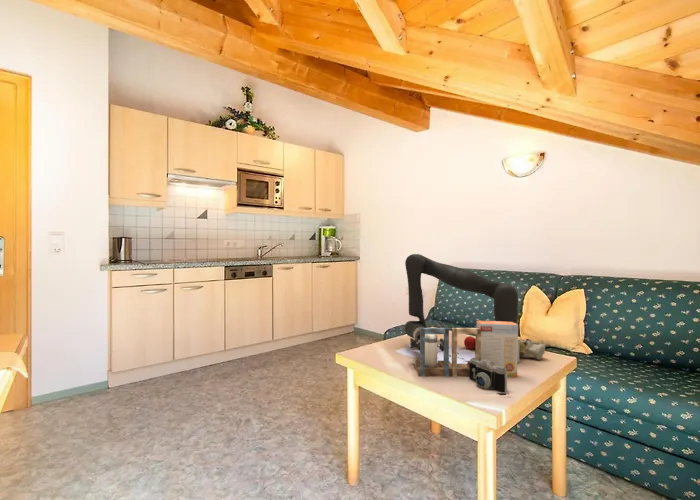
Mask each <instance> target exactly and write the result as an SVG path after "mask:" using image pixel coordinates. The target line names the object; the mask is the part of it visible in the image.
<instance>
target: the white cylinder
mask: <svg viewBox="0 0 700 500" xmlns="http://www.w3.org/2000/svg"><path fill="white" fill-rule="evenodd" d="M437 340H438V334H425V368H437V364H438V348H437Z"/></svg>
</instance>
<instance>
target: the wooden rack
mask: <svg viewBox="0 0 700 500" xmlns="http://www.w3.org/2000/svg"><path fill="white" fill-rule="evenodd" d="M425 334H436V335H443V340H444V351H443V360H438V359H437V368H425ZM458 335H475V339H476V347H475V349H474V350H475V357H474V358H476V359H478V360H479V361H481V329H480V328H477V327H451V361H450V328H449V327H427V328H420V351H419V360H415V363H412V366H413V368H414V371H416V374H417V375H418V376H417V377H419V378H420V377H423V378H425V377H427V378H432V377H435V378H443V377H444V378H445V377H446V378H451V377H453V378H454V377H455V378H469V367H470V360H467V361H466V362H467V363H458Z"/></svg>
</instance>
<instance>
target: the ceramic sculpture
mask: <svg viewBox="0 0 700 500" xmlns="http://www.w3.org/2000/svg"><path fill="white" fill-rule="evenodd" d="M545 351H546V343H540V344H536V343H535V342H534V341H533V340H531V339H529V338H526V339H525V340H519V358H520V357H521V358H525V359H528V358H535V359H536V360H539V361H540V360H542V359H543V356H544V354H545Z"/></svg>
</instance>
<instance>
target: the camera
mask: <svg viewBox="0 0 700 500" xmlns="http://www.w3.org/2000/svg"><path fill="white" fill-rule="evenodd" d="M469 361H470V367H469V377H468V378H469V380H471V381H473V382H475V384H476V385H477V387H479V388H481V389H485V390H490V389H491V390H494V391H497V392H495V394H496V395H498V396H506V395H507V394H508V393H507V392H508V377H507V369H506V368H505V367H503V366H497V365H496V364H495V363H494V362H493V361H490V360H481V361H479V360H478V359H476V358H475V357H471V358H470V359H469Z"/></svg>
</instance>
